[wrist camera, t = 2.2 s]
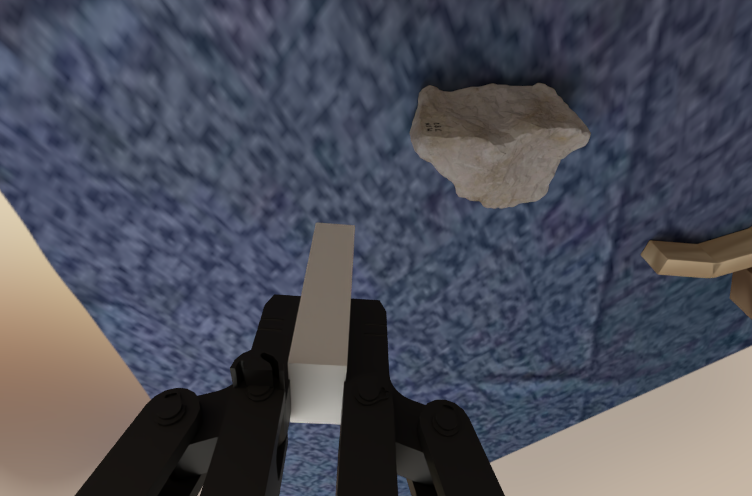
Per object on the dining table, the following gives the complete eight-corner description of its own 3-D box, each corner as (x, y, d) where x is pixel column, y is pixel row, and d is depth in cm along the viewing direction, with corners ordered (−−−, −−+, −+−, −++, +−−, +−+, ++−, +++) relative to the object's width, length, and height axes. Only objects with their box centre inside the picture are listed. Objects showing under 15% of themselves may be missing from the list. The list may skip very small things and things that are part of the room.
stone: (522, 197, 30) (548, 243, 25) (395, 173, 29) (397, 217, 24) (574, 88, 25) (618, 120, 21) (424, 55, 24) (434, 81, 20)
